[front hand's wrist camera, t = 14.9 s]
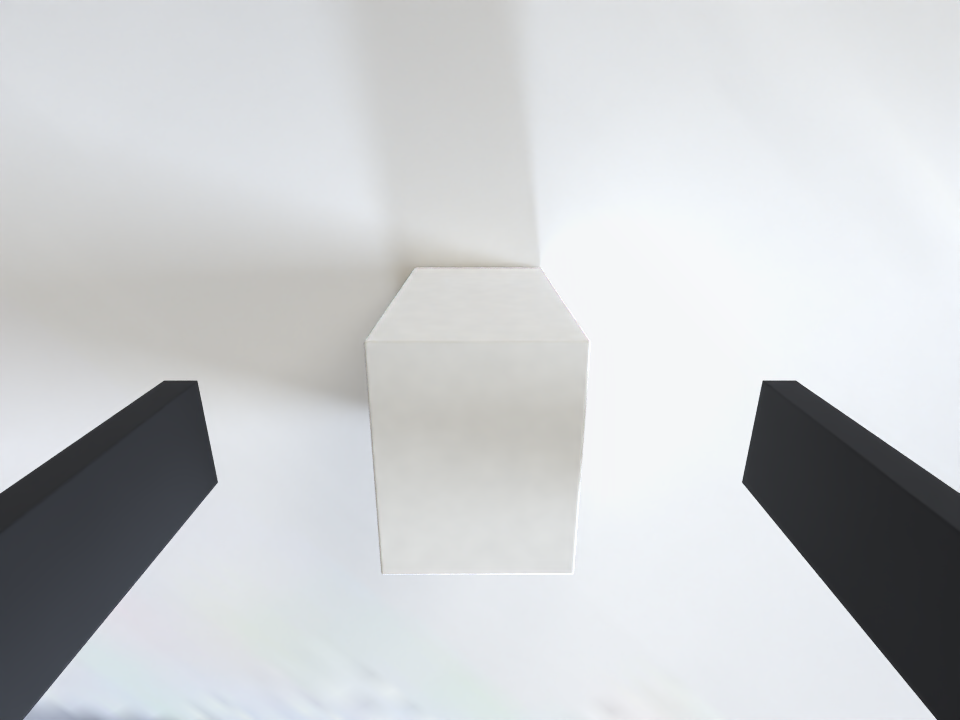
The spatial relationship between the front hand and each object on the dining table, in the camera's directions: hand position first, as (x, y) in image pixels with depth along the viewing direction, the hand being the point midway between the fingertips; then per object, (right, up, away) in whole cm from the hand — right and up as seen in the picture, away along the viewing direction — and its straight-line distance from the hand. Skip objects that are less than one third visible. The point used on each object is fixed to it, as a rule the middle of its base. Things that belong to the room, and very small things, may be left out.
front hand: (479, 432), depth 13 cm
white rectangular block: (0, +2, +8) cm, 8 cm away
